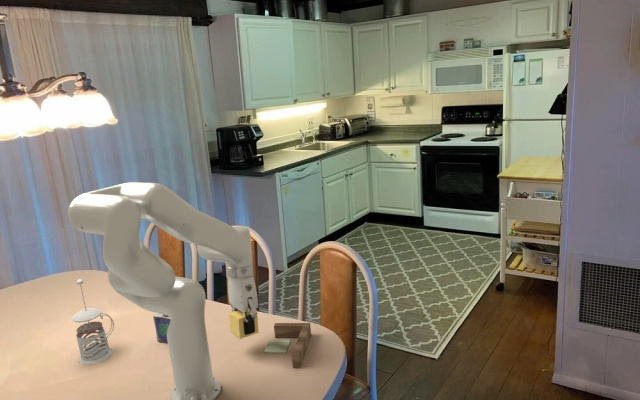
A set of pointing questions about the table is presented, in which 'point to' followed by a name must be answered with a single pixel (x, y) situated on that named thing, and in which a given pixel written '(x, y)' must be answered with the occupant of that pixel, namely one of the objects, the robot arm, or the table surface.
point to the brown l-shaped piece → (290, 331)
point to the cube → (240, 324)
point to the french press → (95, 350)
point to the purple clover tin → (161, 327)
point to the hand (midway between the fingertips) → (244, 329)
